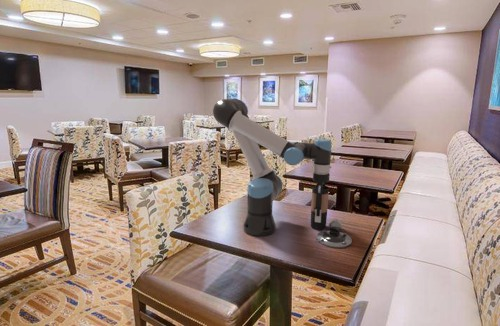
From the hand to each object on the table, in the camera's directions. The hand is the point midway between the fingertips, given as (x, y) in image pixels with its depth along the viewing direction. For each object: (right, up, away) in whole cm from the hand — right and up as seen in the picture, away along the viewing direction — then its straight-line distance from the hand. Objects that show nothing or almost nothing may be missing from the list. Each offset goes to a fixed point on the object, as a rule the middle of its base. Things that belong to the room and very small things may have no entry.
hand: (318, 218), depth 152 cm
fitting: (+5, -6, -10) cm, 13 cm away
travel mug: (0, -4, +1) cm, 4 cm away
